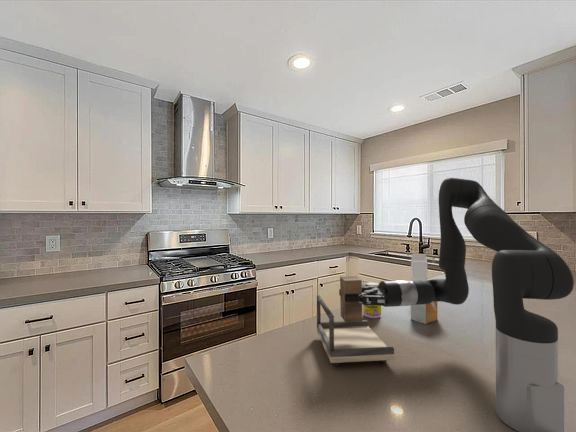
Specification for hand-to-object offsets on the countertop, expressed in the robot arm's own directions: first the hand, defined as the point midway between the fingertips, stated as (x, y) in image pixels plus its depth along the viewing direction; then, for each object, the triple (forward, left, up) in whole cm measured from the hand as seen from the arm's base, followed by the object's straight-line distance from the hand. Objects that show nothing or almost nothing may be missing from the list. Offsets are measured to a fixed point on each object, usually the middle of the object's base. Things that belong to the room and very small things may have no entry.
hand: (342, 295), depth 83 cm
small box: (+21, -38, -17) cm, 46 cm away
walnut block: (0, -3, -7) cm, 7 cm away
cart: (0, -3, -16) cm, 17 cm away
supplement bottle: (+27, -20, -17) cm, 37 cm away
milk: (+42, -48, -17) cm, 65 cm away
